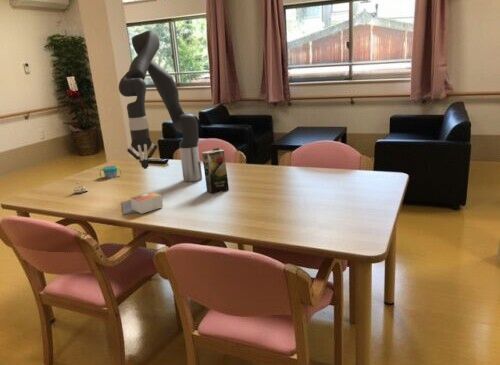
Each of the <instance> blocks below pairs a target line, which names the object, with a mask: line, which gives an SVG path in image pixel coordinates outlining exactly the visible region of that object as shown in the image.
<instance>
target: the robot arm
mask: <svg viewBox="0 0 500 365" xmlns="http://www.w3.org/2000/svg"><path fill="white" fill-rule="evenodd" d="M160 43H161V42H160V39H159V36H158V34H157V33H156V32H155V31H153V30H147V31H144V32H140V33H138V34H136V35H134V36H132V37H131V45H132V47H133V49H134V52H135V53H136V56H135V57H134V58H133V59H132V60H131V62H130V65H129V68H128V71H127V72H126V73H125V74H124V75H123V76H122V78H121V79H120V81H119V82H118V91H119V93H120V94H121V96H123V97H127V98H130V97H131V98H132V97H136V100H135V101H132V102H129V103H127V105H126V112H127V117H128V129H129V132H130V139H131V143H130V146H129V147H127V149H126V151H127V152H128V153H129V155H131V156H132V157H134V159H135V160H136V161H140V164H141V165H140V166H141V168H142V169H143V170H145V169H148V168H149V166H150V165H149V159H152V157H153V155H155V152H156V150H157V148H158V145H157V144H156V143H153V142H152V140H151V135H150V129H149V123H148V119H147V115H146V107H145V101H146V93H147V85H146V82H145V78H146V75H147V73H148V76H149V77H150V78H151V80H152V82H153V84H154V87H155V89H156V91H157V92H158V95H159V96H160V98H161V100H162V102H163V104H164V106H165V108H166V110H167V112H168V114H169V116H170V119H171V121H172V125H173V126H174V128H175V130H176V132H178V133H181V134H182V140H181V141H179V142H178V143H179V144H178V145H179V154H180V162H181V168H182V177H183V181H184V182H196V181H199V180H203V173H202V165H201V160H200V153H199V144H198V142H199V138H200V137H199V124H198V120H197V119H196V117H195V116H194V115H191V114H185V112H184V110H183V108H182V106H181V103H180V98H179V97H180V96H179V95H180V94H179V89H178V86H177V84H176V82H175V80H174V78H173V76H172V75H171V73H169V72H168V71H167V70H165V69H164V68H162V67H161V66H160V65H158V64H157V63H156V62H155V60H153V59H154V57H155V56H156V54H157V53H158V51H159V49H160ZM150 148H151V150H150ZM134 150H135V151H136V152H137V153H138V155H137V154H136V153H135V152H134ZM149 150H150V151H149ZM148 151H149V153H148Z"/></svg>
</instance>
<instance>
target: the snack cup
mask: <svg viewBox="0 0 500 365" xmlns="http://www.w3.org/2000/svg"><path fill="white" fill-rule="evenodd" d="M117 169H118V170H119V174H120V175H122V169H121V168H120V167H119V166H117V165H108V166H104V167H102V168H101V169H100V171H99V176H100V178H102V175H101V174H102V173H101V171H103V173H104V177H105V178H106V179H115V178H117V174H118V173H117V172H118V170H117Z"/></svg>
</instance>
